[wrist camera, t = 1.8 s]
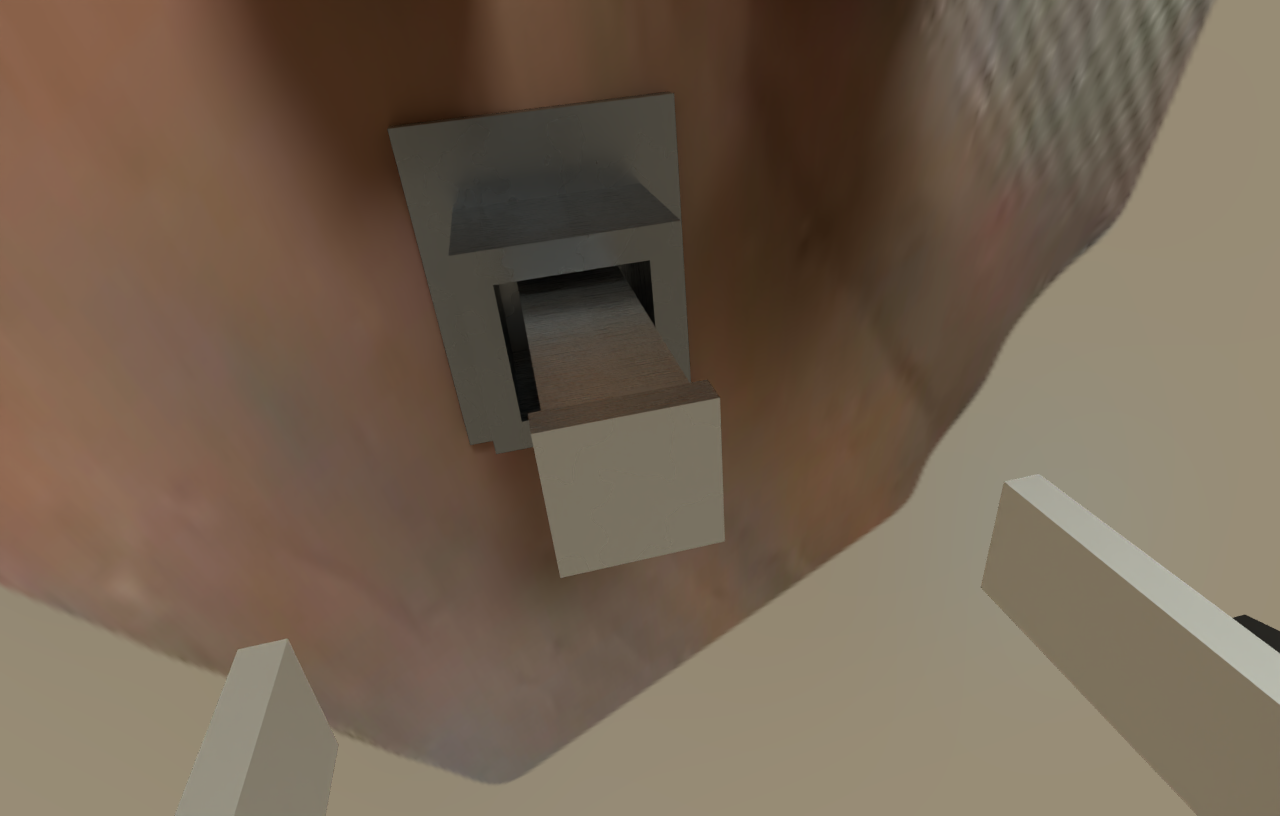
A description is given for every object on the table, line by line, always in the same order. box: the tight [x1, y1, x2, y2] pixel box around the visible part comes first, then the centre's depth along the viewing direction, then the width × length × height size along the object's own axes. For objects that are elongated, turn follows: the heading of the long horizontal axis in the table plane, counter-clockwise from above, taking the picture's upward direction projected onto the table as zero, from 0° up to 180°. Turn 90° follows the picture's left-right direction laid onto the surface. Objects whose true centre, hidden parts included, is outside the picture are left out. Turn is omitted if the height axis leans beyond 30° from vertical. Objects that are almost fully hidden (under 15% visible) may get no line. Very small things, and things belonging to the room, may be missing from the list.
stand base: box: [387, 92, 691, 454], centre depth 34 cm, size 18×14×10 cm
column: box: [517, 265, 725, 578], centre depth 29 cm, size 6×6×19 cm
